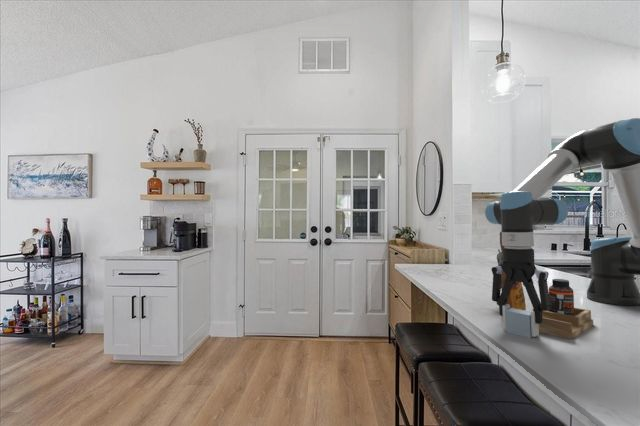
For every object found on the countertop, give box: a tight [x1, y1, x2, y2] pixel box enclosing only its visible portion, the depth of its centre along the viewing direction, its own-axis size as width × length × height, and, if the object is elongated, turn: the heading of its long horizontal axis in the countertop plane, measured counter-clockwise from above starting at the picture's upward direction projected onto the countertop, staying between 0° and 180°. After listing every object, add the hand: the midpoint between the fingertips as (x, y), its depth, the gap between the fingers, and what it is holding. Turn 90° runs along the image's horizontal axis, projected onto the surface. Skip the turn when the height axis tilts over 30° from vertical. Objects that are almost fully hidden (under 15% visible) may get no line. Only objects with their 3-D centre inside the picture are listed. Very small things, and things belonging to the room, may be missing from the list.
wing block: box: [505, 308, 534, 339], centre depth 88 cm, size 4×6×6 cm, turn 36°
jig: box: [532, 307, 594, 340], centre depth 93 cm, size 18×12×4 cm, turn 126°
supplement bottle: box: [548, 278, 575, 316], centre depth 95 cm, size 6×6×11 cm
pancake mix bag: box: [499, 230, 527, 311], centre depth 104 cm, size 7×19×28 cm, turn 141°
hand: (520, 331), depth 88 cm, fingers open, 6 cm apart
